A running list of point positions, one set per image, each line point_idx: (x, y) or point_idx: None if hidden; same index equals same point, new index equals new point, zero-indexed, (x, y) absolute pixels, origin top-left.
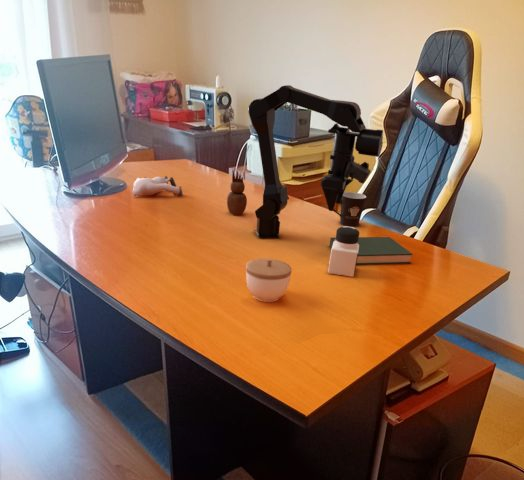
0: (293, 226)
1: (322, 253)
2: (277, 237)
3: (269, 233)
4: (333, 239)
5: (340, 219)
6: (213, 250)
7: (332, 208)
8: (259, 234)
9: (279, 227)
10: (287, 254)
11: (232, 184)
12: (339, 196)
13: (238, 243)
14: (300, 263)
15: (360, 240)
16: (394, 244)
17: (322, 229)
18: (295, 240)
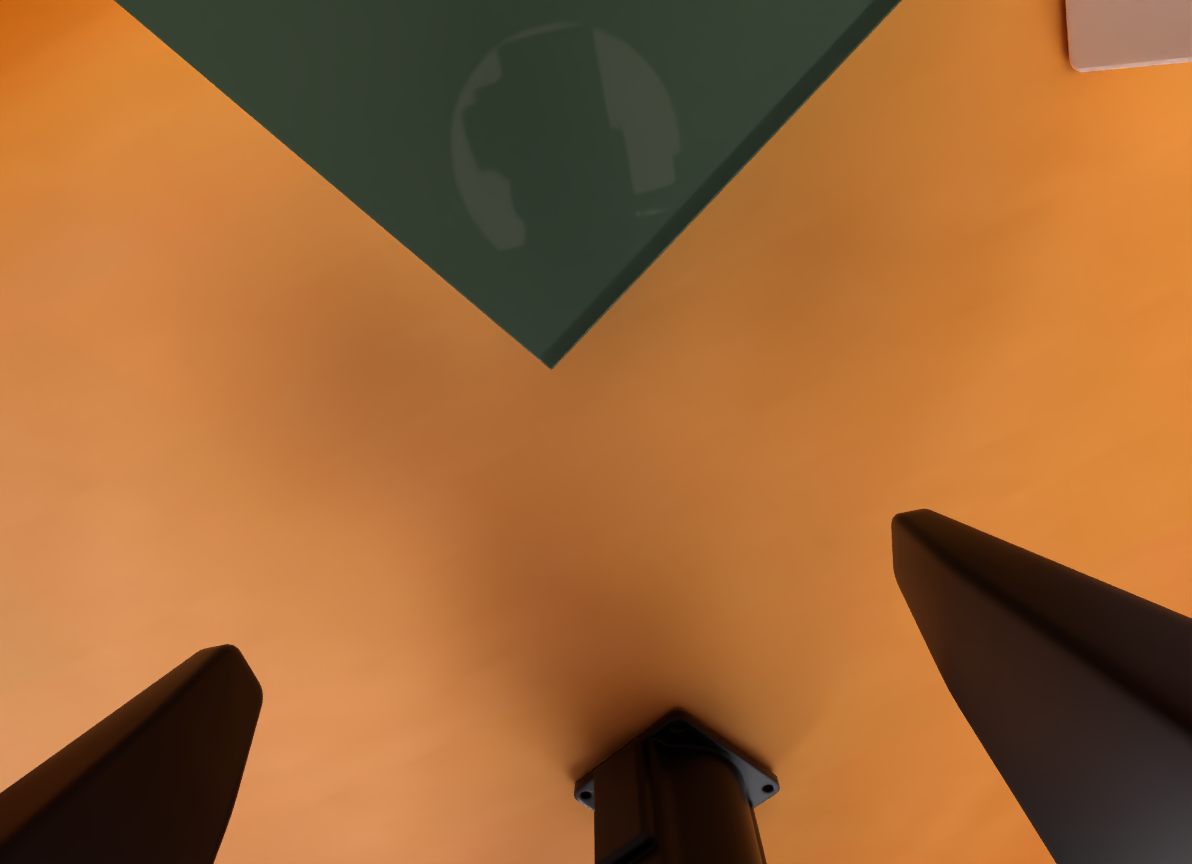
0: (330, 756)
1: (778, 298)
2: (687, 715)
3: (728, 776)
4: (590, 312)
5: None
6: None
7: (977, 544)
8: (752, 806)
9: (639, 787)
10: (990, 506)
11: None
12: (143, 805)
13: (954, 805)
14: (1162, 327)
15: (332, 7)
16: None
17: (165, 592)
18: (622, 611)
